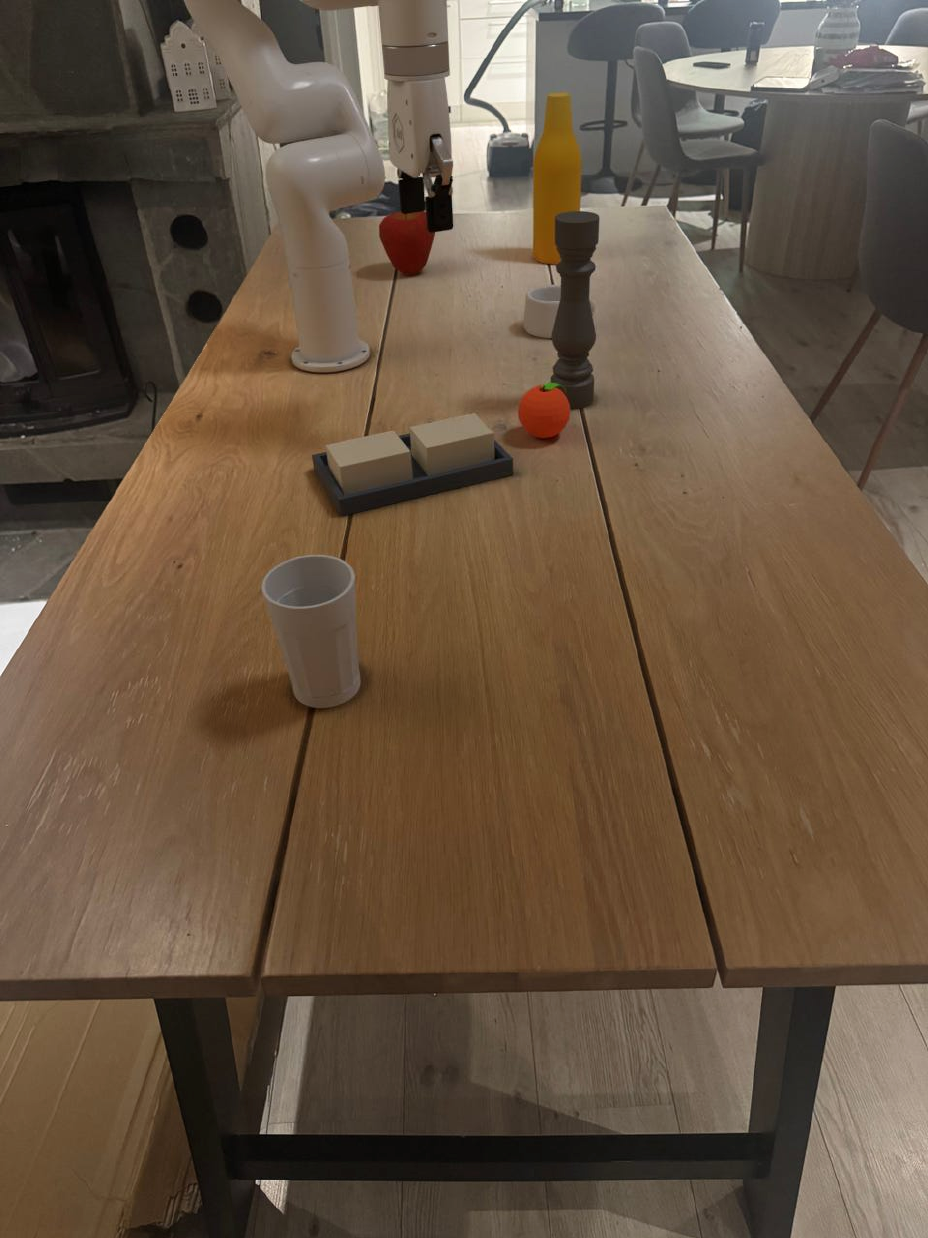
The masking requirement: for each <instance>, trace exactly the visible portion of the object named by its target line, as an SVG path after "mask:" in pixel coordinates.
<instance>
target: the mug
mask: <svg viewBox="0 0 928 1238" xmlns="http://www.w3.org/2000/svg"><path fill="white" fill-rule="evenodd" d="M560 298H561V284H546V285H540V286H535V287H533V288H531V289H528V291H527V292H526V294H525V301H524V311H523V318H522V325H523V329H524V330H525V332H526V333H528V334H529V335H531V336H533V337H538V338H544V339H545V338H546V339H552V330H553V326H554V322H555V318H556V314H557V310H558V306H559V302H560ZM589 300H590V306H591V311H592V316H594V314H595V312H596V311H595V310H596V305H595V302H594V301H593V299H592V298H591V297H589Z"/></svg>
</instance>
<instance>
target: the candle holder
mask: <svg viewBox="0 0 928 1238" xmlns="http://www.w3.org/2000/svg"><path fill="white" fill-rule="evenodd" d="M599 235H600V214H598V213H596V212H593V211H587V210H586V211H585V210H580V211H570V212H564V213H561V214H558V215H557V216H555V245H557V251H558V253H559V254H560V258H561V261H560V262H559V263H558V264H555V270H556V273H557V274H559V277H560V285H561V298H560V302H559V306H558V310H557V314H556V318H555V322H554V326H553V330H552V338H551V341H552V346H553V348H554V349H555V351H556V352H557V353H556V355H557V358H558V359H557V360H556V361H555V363H554V365H552V373H553V374H552V375H551V376H550V383H557V384H560V385H559V386H556V388H558V389H559V390H561V391H562V392H563V393H564V394H565V396H566V397H567V400H568V402H569V404H570V410H579V409H583V408H587V407H589V406H591V405H593V404H592V403H593V402H594V400H595V399H594V397H595V395H594V394H595V375H594V374H593V372H594V367H593V365H592V363H591V362H590V359H588V357H589V356H590V351H591V350H592V349H593V347H594V345H595V343H596V340H597V332H596V327H595V322H594V317H593V316H594V315H593V316H592V311H591V306H590V300H589V298H590V289H591V288H590V286H591V277H592V274H593V273H594V272H595V271H596V269H597V268H596V267H597V266H596V263H595V262H593V261H592V258H593V256H594V253H595V252H596V250H597V245H598V244H599V239H600V238H599V237H600V236H599ZM561 385H562V386H564V387H565V388H566V392H567V394H566V392H565V390H564V388H563V387H562V386H561Z"/></svg>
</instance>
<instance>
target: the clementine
mask: <svg viewBox="0 0 928 1238" xmlns="http://www.w3.org/2000/svg"><path fill="white" fill-rule="evenodd" d="M559 385H560V384H557V383H551V382H548V383H544V384H538V385H535V386H533V387H531V388H530V389H528V390H527V391H526V392H525V393H524V395H523V396H522V397H521V399H520V401H519V404H518V409H517V414H518V421H519V422H520V424H521V427H522V428H523V429H524V431H526V432H527V434H529V435H531V436H533V437H535V438H539V439H549V438H553V437H554V436H556V435H558V434H559V433H562V431H563V430H564V429H565V428H566V426H567V424H568V422H569V420H570V416H571V409H570V404H569V402H568V400H567V397H566V396H565V394H564V393H563V392H562V391H561V390H559V389H558V388H556V386H559ZM561 386H562V385H561ZM562 387H563V388H564V390H565V392H566V388H565V387H564V386H562ZM566 394H567V392H566Z"/></svg>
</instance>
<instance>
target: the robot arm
mask: <svg viewBox="0 0 928 1238" xmlns="http://www.w3.org/2000/svg"><path fill="white" fill-rule="evenodd" d="M298 1H299V2H301V3H302V4H305V5H306V6H308V7H311V8H313V9H316V10H320V11H327V12H329V11H331V12H332V11H341V10H349V9H357V8H366V7H378V20H379V28H380V29H379V30H380V31H379V32H380V43H381V54H382V62H383V63H382V66H383V78H384V80H386V81H387V88H386V106H387V107H386V110H387V116H386V117H387V136H388V137H387V138H388V154H389V161H390V163H391V164H392V166H394V168H396V175H397V178H398V179H397V182H398V194H399V205H400V207H399V209H400V212H402V213H403V214H408V213H415V212H422V211H424V212H426V220H427V230H428V231H429V232H430V233H434V232H435V233H439V232H446V231H452V230H453V229H454V212H453V211H454V210H453V193H454V188H453V182H454V179H453V178H454V176H453V170H454V161H453V155H452V154H453V152H452V151H453V150H452V148H453V147H452V132H451V121H450V110H449V109H450V108H449V100H448V91H447V85H446V78H447V77H450V76H451V69H450V67H451V66H450V48H449V47H450V46H449V44H450V43H449V23H448V22H449V21H448V3H447V2H448V0H298ZM183 2H184V5H185V7H186V9H187V11H188V14H189V16H190V17H191V18H192V20H193V22H194V23H195V25H196V27H197V29H198V30H199V31H200V33H201V34H202V35H203V37H204V38H205V39H206V42H208V44H209V45H210V46H211V48H212V50H213V51H214V52H215V54H216V55H217V57H218V60H219V62H220V63H221V65H222V67H223V69H224V72H225V74H226V76H227V78H228V80H229V83H230V85H231V87H232V89H233V91H234V93H235V95H236V97H237V100H238V102H239V104H240V106H241V108H242V110H243V113H244V115H245V117H246V119H247V121H248V123H249V125H250V127H251V129H252V130H253V132H254V134H255V136H256V137H258V138H259V140H260V141H262V142H264V143H267V144H270V145H271V144H273V145H278V144H285V145H283V146H282V147H279V148H277V149H276V150H275V151H274V152H272V153H271V155H270V156H269V158H268V159H267V162H266V165H265V181H266V186H267V190H268V192H269V195H270V199H271V202H272V204H273V208H274V211H275V215H276V217H277V220H278V225H279V228H280V229H279V230H280V235H281V239H282V246H283V250H284V256H285V263H286V268H287V275H288V281H289V287H290V294H291V300H292V307H293V313H294V319H295V326H296V333H297V339H298V344H299V345H298V346H296V348H294V350H292V352H291V361H292V364H293V366H295V367H296V368H297V369H300V370H302V371H305V372H311V373H322V374H323V373H337V372H342V371H346V370H351V369H353V368H356V367H358V366H360V365H362V364H364V363H365V362H366V361H367V360H368V359H369V358H370V356H371V349H370V346H369V345H368V343H367V342H365V341H363V340H361V339H360V338H359V329H358V321H357V313H356V304H355V294H354V286H353V277H352V268H351V260H350V253H349V245H348V242H347V239H346V237H345V234H344V233H343V231H342V230H341V229H340V227H339V226H338V225H337V224H336V223H335V222H334V220H333V219H332V218H331V216H330V213H331V212H333V211H336V210H339V209H342V208H343V209H344V208H347V207H352V206H356V205H360V204H365V203H367V202H371V201H373V200H375V199H376V198H377V197H379V195H380V194H381V193H382V191H383V190H384V188H385V187H384V186H385V184H386V183H385V182H386V171H385V165H384V161H383V158H382V154H381V151H380V149H379V147H378V144H377V141H376V139H375V137H374V135H373V132H372V130H371V128H370V126H369V123H368V121H367V119H366V117H365V114H364V112H363V110H362V108H361V104H360V103H359V101H358V99H357V97H356V94H355V92H354V89H353V88H352V86H351V84H350V82H349V80H348V78H347V77H346V76H345V74H344V73H343V72H342V71H341V70H340V69H339V68H338V67H337V66H335V65H333V64H331V63H329V62H325V61H312V62H305V63H297V64H295V63H291V62H290V61H288V60H287V59H286V57H285V55H284V53H283V51H282V50H281V47H280V45H279V42H278V40H277V38H276V35H275V34H274V32H273V31H272V30H271V28H270V27H269V26H268V25H267V24H266V23H265V21H263V20H262V18H260V17H259V16H258V15H257V14H256V13H255V12H253V11H252V10H251V9H249V8H248V7H247V6H245V5H244V4H242V3H241V2H240V1H239V0H183ZM287 143H289V144H287ZM433 178H434V180H433ZM425 189H426V193H427V196H425V195H426V194H425Z"/></svg>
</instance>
